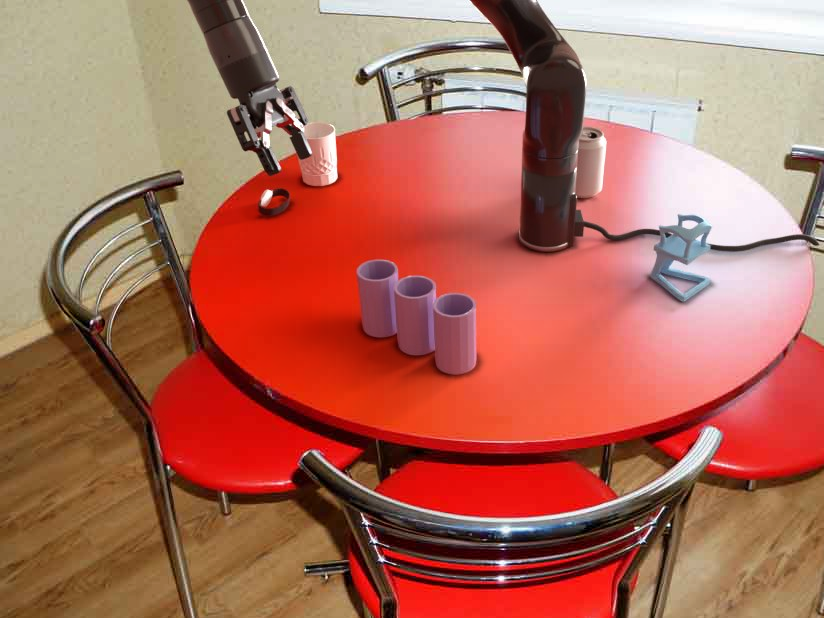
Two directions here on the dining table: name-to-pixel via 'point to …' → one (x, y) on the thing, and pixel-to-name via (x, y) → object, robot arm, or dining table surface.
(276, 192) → the watch
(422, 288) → the middle cup
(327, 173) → the white cup
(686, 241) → the chair
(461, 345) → the cup
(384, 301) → the end cup
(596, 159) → the can
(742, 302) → the dining table surface
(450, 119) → the dining table surface
